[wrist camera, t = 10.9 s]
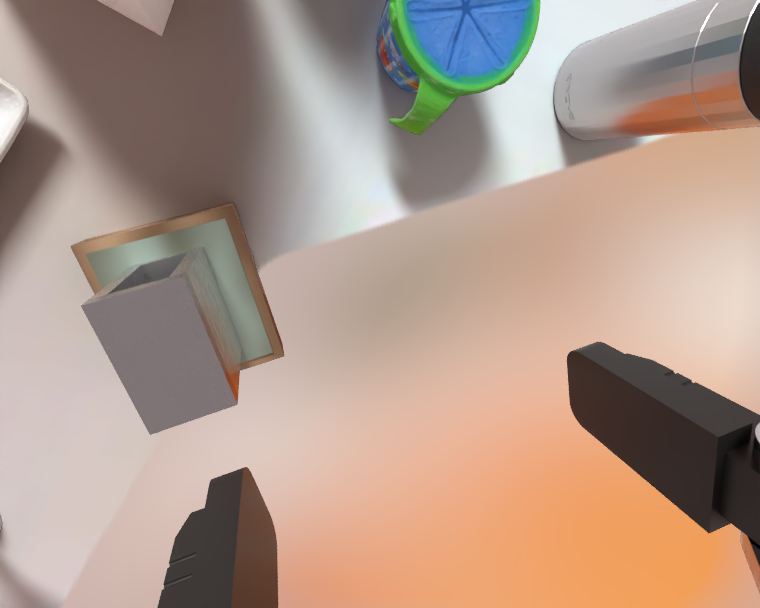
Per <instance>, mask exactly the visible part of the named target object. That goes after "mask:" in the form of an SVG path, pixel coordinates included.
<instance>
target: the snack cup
mask: <svg viewBox="0 0 760 608" xmlns="http://www.w3.org/2000/svg"><path fill="white" fill-rule="evenodd" d="M539 13H540V0H387V2H386V5H385V8H384V11H383V13H382V16H381V20H380V24H379V28H378V33H377V48H378V55H379V57H380V60H381V62H382V65H383V67H384V69H385V71H386V72H387V73H388V75H389V76H390V78H391V79H392V80H393V81H394V82H395V83H396V84H397V85H399V86H400V87H401V88H402V89H405V90H408V91H412V92H416V93H417V96H416V99H415V102H414V105H413V107H412V109H411V110H410V111H408V113H407V114H406V115H405V116H404V117H403V118H402V119H400V118H390V119H389V122H390V123H392V124H394V125H396V126H398V127H400V128H402V129H404V130H406V131H408V132H411V133H413V134H416V135H420V134H421V133H423V132H424V131H425V130H426V129H427V128H428V127H429V126H430V125H431V124H432V123H434V122H435V121H436V120H437V119H438V118H439V117H440V116H441V115H442V114H443V113H444V112H445V111H446V110H447V109H448V107H449V106H450V105H451V104H452V103H453V101H454V100H455V99H456V98H457V97H458V96H460V95H469V94H475V93H480V92H483V91H486V90H489V89H491V88H493V87H495V86H497V85H501V84H504V83H505V82H506V81H507V80H508V79H509V78H510V77H511V76H512V75H513V74H514V71H515V70H516V69H517V68H518V67H519V66H520V64H521V63H522V61H523V60H524V58H525V57H526V55H527V54H528V51H529V49H530V47H531V45H532V43H533V40H534V37H535V34H536V30H537V26H538V20H539Z"/></svg>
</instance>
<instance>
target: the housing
mask: <svg viewBox="0 0 760 608" xmlns="http://www.w3.org/2000/svg"><path fill="white" fill-rule="evenodd" d="M81 307H82V309H83V311H84V312H85V314H86V316H87V318H88V320H89V322H90V324H91V325H92V327H93V329H94V331H95V333H96V335H97V337H98V339H99V340H100V342H101V344H102V346H103V348H104V350H105V352H106V353H107V355H108V357H109V359H110V361H111V363H112V365H113V367H114V368H115V370H116V372H117V374H118V376H119V378H120V380H121V381H122V383H123V385H124V387H125V389H126V391H127V393H128V395H129V396H130V398H131V400H132V402H133V404H134V406H135V408H136V409H137V411H138V413H139V415H140V417H141V419H142V421H143V423H144V424H145V426H146V428H147V430H148V432H149V434H150V435H151V434H154V433H157V432H160V431H163V430H165V429H168V428H171V427H174V426H177V425H180V424H183V423H186V422H188V421H191V420H194V419H197V418H200V417H203V416H206V415H209V414H212V413H214V412H217V411H220V410H223V409H226V408H229V407H232V406H235V405H237V403H238V388H239V387H238V386H239V373H240V358H241V341H240V339H239V336H238V334H237V331H236V329H235V326H234V324H233V321H232V318H231V316H230V313H229V311H228V308H227V306H226V303H225V301H224V298H223V295H222V293H221V290H220V288H219V285H218V283H217V280H216V278H215V275H214V273H213V270H212V267H211V265H210V262H209V260H208V257H207V255H206V252H205V250H204V247H203V246H201V247H198V248H194V249H190V250H187V251H183V252H179V253H175V254H172V255H168V256H164V257H161V258H157V259H153V260H150V261H146V262H142V263H138V264H135V265H131V266H130V267H129V268H127V269H126V270H125V271H124V272H122V273H121V274H120V275H119V276H117V277H116V278H115V279H114V280H112V281H111V282H110V283H109V284H107V285H106V286H105V287H104V288H103V289H101V290H100V291H99V292H98V293H96V294H95V295H94V296H93V297H91V298H90V299H89V300H88V301H86V302H85V303H84V304H83V305H81Z"/></svg>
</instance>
